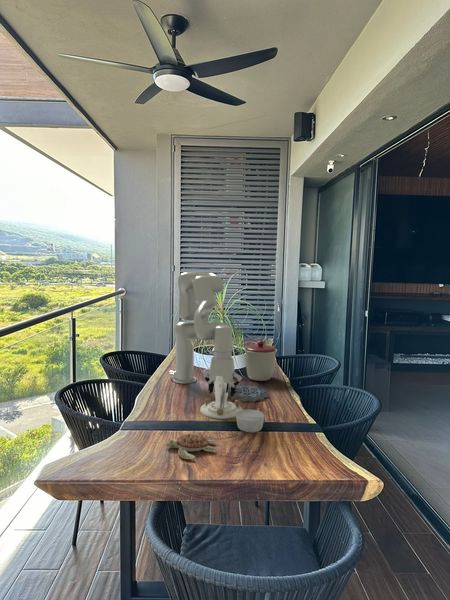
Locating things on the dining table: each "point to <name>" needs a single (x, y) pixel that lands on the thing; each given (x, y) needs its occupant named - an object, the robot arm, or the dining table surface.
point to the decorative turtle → (190, 444)
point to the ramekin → (250, 420)
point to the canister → (260, 361)
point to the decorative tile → (248, 393)
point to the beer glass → (221, 393)
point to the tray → (225, 414)
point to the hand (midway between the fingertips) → (221, 394)
